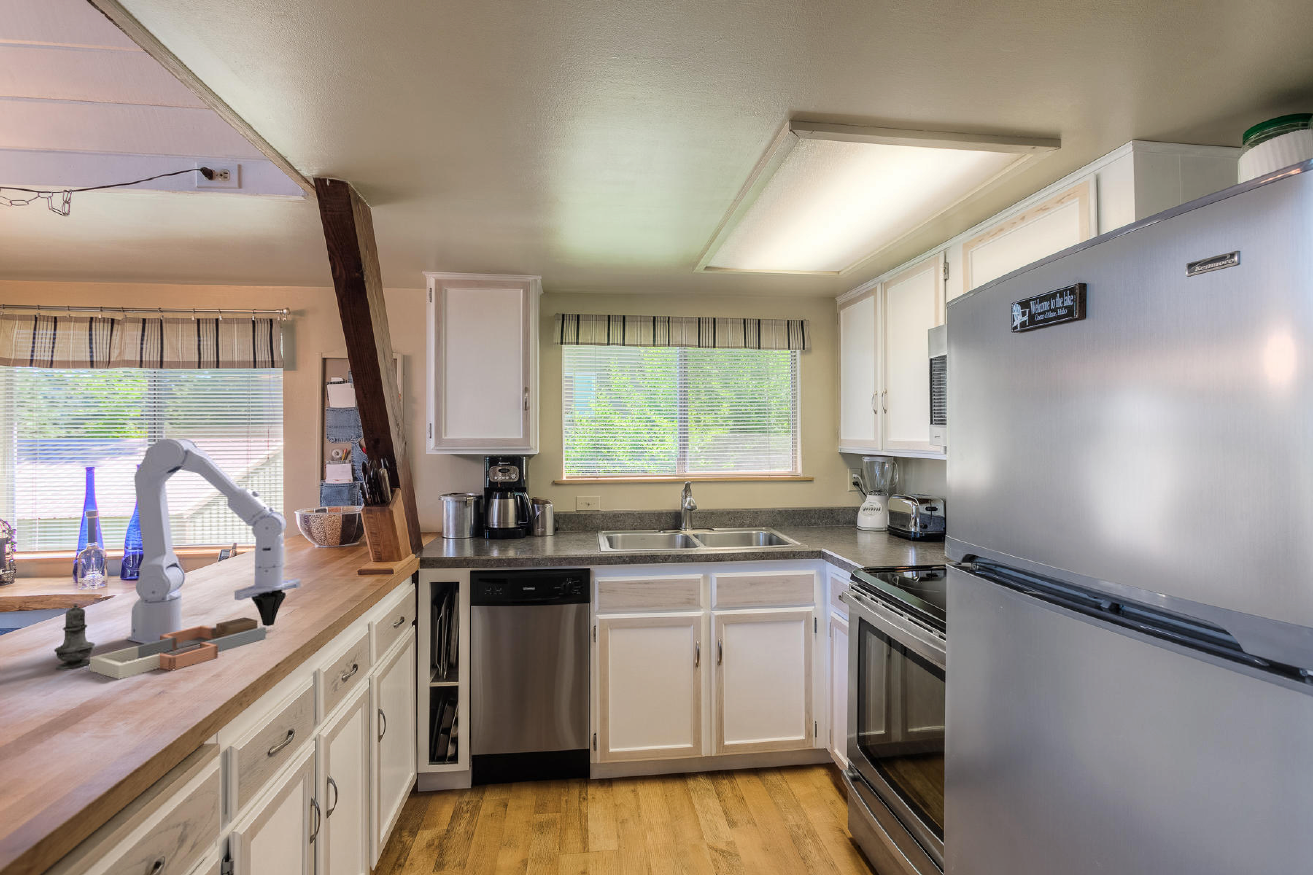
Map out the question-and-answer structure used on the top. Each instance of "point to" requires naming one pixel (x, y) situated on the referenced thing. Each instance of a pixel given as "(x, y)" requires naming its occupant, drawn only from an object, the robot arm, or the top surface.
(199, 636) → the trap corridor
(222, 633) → the walnut block
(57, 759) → the top surface
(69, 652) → the salt shaker
